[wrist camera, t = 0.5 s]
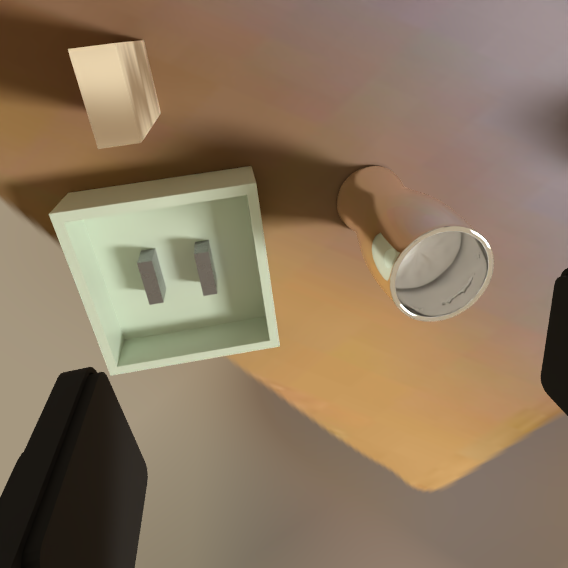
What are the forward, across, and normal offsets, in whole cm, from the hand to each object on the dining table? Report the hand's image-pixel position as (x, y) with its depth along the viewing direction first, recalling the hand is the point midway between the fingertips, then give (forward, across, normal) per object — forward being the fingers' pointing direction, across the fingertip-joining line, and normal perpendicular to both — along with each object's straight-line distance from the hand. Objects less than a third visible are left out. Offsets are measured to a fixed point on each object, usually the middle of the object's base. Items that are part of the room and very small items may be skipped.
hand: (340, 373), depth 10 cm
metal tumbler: (+31, -10, +8) cm, 34 cm away
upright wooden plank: (+31, +7, -5) cm, 32 cm away
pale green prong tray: (+31, +8, +10) cm, 34 cm away
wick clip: (+31, +8, +10) cm, 34 cm away
